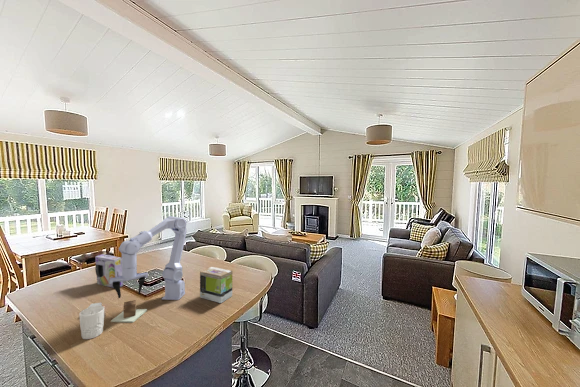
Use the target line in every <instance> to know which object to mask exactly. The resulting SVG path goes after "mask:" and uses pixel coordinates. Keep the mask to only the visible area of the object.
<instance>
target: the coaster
mask: <svg viewBox="0 0 580 387" xmlns="http://www.w3.org/2000/svg"><path fill="white" fill-rule="evenodd" d="M147 311H148V309H147V308H136V315H135V316H131V317H127V318H124V310H123V311H122V312H121V313H119V314H118V315H117V316H115V317H114V318H112V319H111V320H110V322H111V323H133V324H134V323H135V321H137V320H138V319H139V318H140V317H141V316H143V314H145V313H146V312H147Z"/></svg>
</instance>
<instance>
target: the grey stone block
mask: <svg viewBox="0 0 580 387" xmlns="http://www.w3.org/2000/svg"><path fill="white" fill-rule="evenodd" d="M93 306H102V302H95V303H90V305H89V306H88V307H87V308H89V307H93Z"/></svg>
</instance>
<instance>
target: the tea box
mask: <svg viewBox="0 0 580 387" xmlns="http://www.w3.org/2000/svg"><path fill="white" fill-rule="evenodd" d="M232 296H233V270H232V269H227V268H222V267H217V266H216V267H215V266H210V267H208V268H206V269H203V270H201V271H200V272H199V298H201V299H204V300H208V301H210V302H211V301H212V302H214V303H219V304H222V303H224V302H225V301H227V300H228V299H230V298H231V297H232Z"/></svg>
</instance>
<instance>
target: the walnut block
mask: <svg viewBox="0 0 580 387" xmlns="http://www.w3.org/2000/svg"><path fill="white" fill-rule="evenodd" d="M136 305H137V302H136V299H133V300H128V301H124V302H123V311H124V318H127V317H131V316H135V315H136V309H137V306H136Z"/></svg>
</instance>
